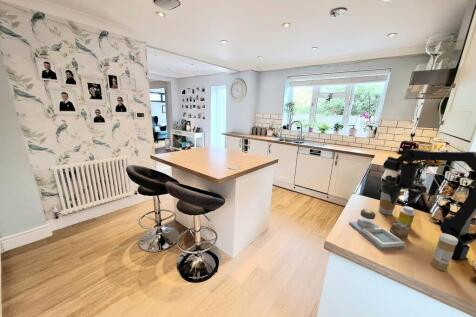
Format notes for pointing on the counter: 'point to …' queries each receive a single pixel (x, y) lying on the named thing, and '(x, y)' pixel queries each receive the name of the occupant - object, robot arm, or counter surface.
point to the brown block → (399, 230)
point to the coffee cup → (386, 203)
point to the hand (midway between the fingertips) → (400, 203)
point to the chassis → (377, 235)
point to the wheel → (367, 214)
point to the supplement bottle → (406, 216)
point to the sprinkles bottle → (444, 251)
